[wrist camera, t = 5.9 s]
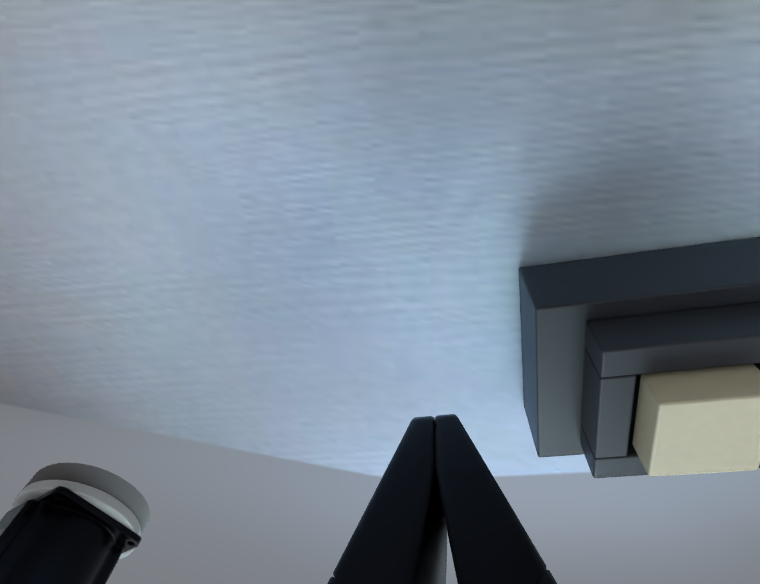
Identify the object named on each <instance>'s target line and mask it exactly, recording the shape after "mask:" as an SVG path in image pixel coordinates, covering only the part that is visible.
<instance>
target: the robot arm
mask: <svg viewBox="0 0 760 584" xmlns="http://www.w3.org/2000/svg"><path fill="white" fill-rule="evenodd" d="M447 532H448V537H449V542H450V547H451V552H452V557H453V562H454V567H455V571H456V577H457V582H458V584H557V583H556V581H555V579H554V578H553V576H552V574H551V573H550V571H549V570H546V565H545V563H544V561H543V560H542V558H541V556H540V555H539V553H538V551H537V550H536V548H535V546H534V545H533V543H532V542H531V539H530V538H529V536H528V535H527V533H526V531H525V529H524V528H523V526H522V524H521V523H520V521H519V519H518V518H517V516H516V514H515V513H514V511H513V509H512V508H511V506H510V504H509V502H508V501H507V499H506V497H505V496H504V494H503V492H502V491H501V489H500V487H499V486H498V484H497V482H496V481H495V479H494V477H493V476H492V474H491V472H490V471H489V469H488V467H487V466H486V464H485V462H484V460H483V459H482V457H481V455H480V454H479V452H478V450H477V449H476V447H475V445H474V444H473V442H472V440H471V439H470V437H469V435H468V434H467V432H466V430H465V429H464V427H463V425H462V424H461V422H460V420H459V418H458V417H457V416H456V415H454V414H449V415H438V416H436V417H435V419H434V417H432V416H426V417H416V418H414V419H412V421H411V423H410V425H409V427H408V428H407V430H406V432H405V434H404V436H403V438H402V440H401V442H400V444H399V446H398V448H397V450H396V452H395V454H394V456H393V458H392V460H391V462H390V463H389V465H388V467H387V469H386V471H385V473H384V475H383V477H382V479H381V481H380V483H379V485H378V487H377V489H376V491H375V493H374V495H373V497H372V499H371V500H370V503H369V505H368V506H367V508H366V511H365V512H364V514H363V516H362V518H361V520H360V522H359V524H358V526H357V528H356V530H355V532H354V533H353V535H352V537H351V539H350V541H349V543H348V545H347V547H346V549H345V551H344V553H343V555H342V557H341V559H340V561H339V563H338V565H337V567H336V568H335V570H334V572H333V575H334V577H335V578H334V577H331V578H330V580H329V582H328V584H446V562H447ZM140 541H141V537H140V536H139V535H138V534H136V533H135V532H133V531H132V530H130V529H129V528H127V527H126V526H124V525H123V524H121V523H120V522H118V521H117V520H115V519H114V518H112V517H111V516H109V515H108V514H106V513H104V512H103V511H101V510H100V509H98V508H97V507H95V506H94V505H92V504H91V503H89V502H88V501H86V500H85V499H83V498H82V497H80V496H79V495H77V494H76V493H74V492H73V491H71V490H70V489H68V488H66V487H63V486H58V487H56V488H54V489H52V490H50V491H49V492H47V493H45V494H43V495H42V496H40V497H38V498H36V499H30V500H27V501H26V502H24V503H22V504H20V505H19V506H17V507H15V508H13V509H12V510H10V511H8V512H7V513H6V514H5V516H4V517H3V518H2V519H1V521H0V584H106V582H107V580H108V578H109V576H110V574H111V573H112V571H113V569H114V567H115V565H116V563H117V561H118V560H119V558H120V556H121V554H122V553H124V552H127V551H129V550H131V549H133V548H135V547H137V546H138V545H139V543H140Z"/></svg>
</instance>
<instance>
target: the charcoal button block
mask: <svg viewBox="0 0 760 584" xmlns="http://www.w3.org/2000/svg"><path fill="white" fill-rule="evenodd" d="M519 286H520V312H521V338H522V364H523V389H524V407H525V411H526V415H527V418H528V422H529V426H530V429H531V433H532V436H533V440H534V444H535V447H536V451H537V454H538V456H539V457H551V456H565V455H579V454H585V457H586V459H587V462H588V465H589V467H590V470H591V473H592V475H593V477H594V478H605V477H621V476H637V475H648V474H647V472H646V470H645V468H644V466H643V464H642V462H641V460H640V458H639V456H638V454H637V452H636V450H635V448H634V446H633V444H632V442H633V434H634V426H635V418H636V410H637V403H638V395H639V387H640V379H641V374H646V373H656V372H667V371H678V370H689V369H700V368H711V367H722V366H732V365H743V364H754V365H755V366H756V367H757V368H758V369H759V370H760V237H757V238H749V239H742V240H734V241H726V242H718V243H710V244H702V245H695V246H687V247H679V248H671V249H663V250H656V251H648V252H640V253H632V254H624V255H616V256H609V257H601V258H593V259H585V260H577V261H569V262H562V263H554V264H546V265H538V266H530V267H523V268H519ZM759 468H760V465H759Z"/></svg>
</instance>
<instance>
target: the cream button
mask: <svg viewBox="0 0 760 584" xmlns="http://www.w3.org/2000/svg"><path fill="white" fill-rule="evenodd" d="M632 444H633V446H634V448H635V450H636V452H637V454H638V456H639V458H640V460H641V462H642V464H643V466H644V468H645V470H646V472H647V474H648V476H650V477H654V476H670V475H684V474H703V473H717V472H718V473H719V472H735V471H751V470H757V469H758V468H759V465H760V370H759V369H758V368H757V367H756V366H755V365H754V364H743V365H732V366H722V367H711V368H700V369H689V370H678V371H667V372H656V373H646V374H641V379H640V387H639V395H638V403H637V410H636V418H635V426H634V434H633V442H632Z"/></svg>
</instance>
